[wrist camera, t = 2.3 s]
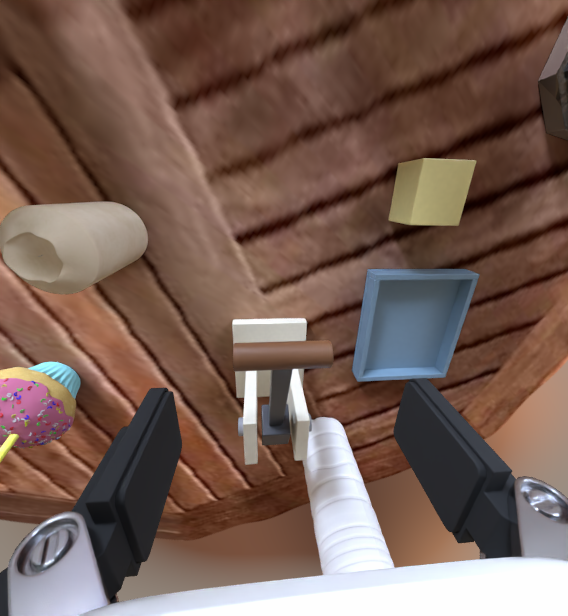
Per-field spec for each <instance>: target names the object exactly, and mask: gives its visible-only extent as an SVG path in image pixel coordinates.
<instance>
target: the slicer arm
mask: <svg viewBox="0 0 568 616" xmlns="http://www.w3.org/2000/svg"><path fill="white" fill-rule="evenodd" d="M332 364H333V348H332V344H331V342H330V341H329V340H318V341H284V342H251V343H234V346H233V369H234V371H235V372H238V371H263V370H271V376H270V396H269V405H262V445H276V444H288V441H289V438H290V434H291V431H290V420H289V409H288V404H287V399H288V393H289V388H290V382H291V377H292V371H293V369H312V368H330V367H332Z"/></svg>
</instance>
